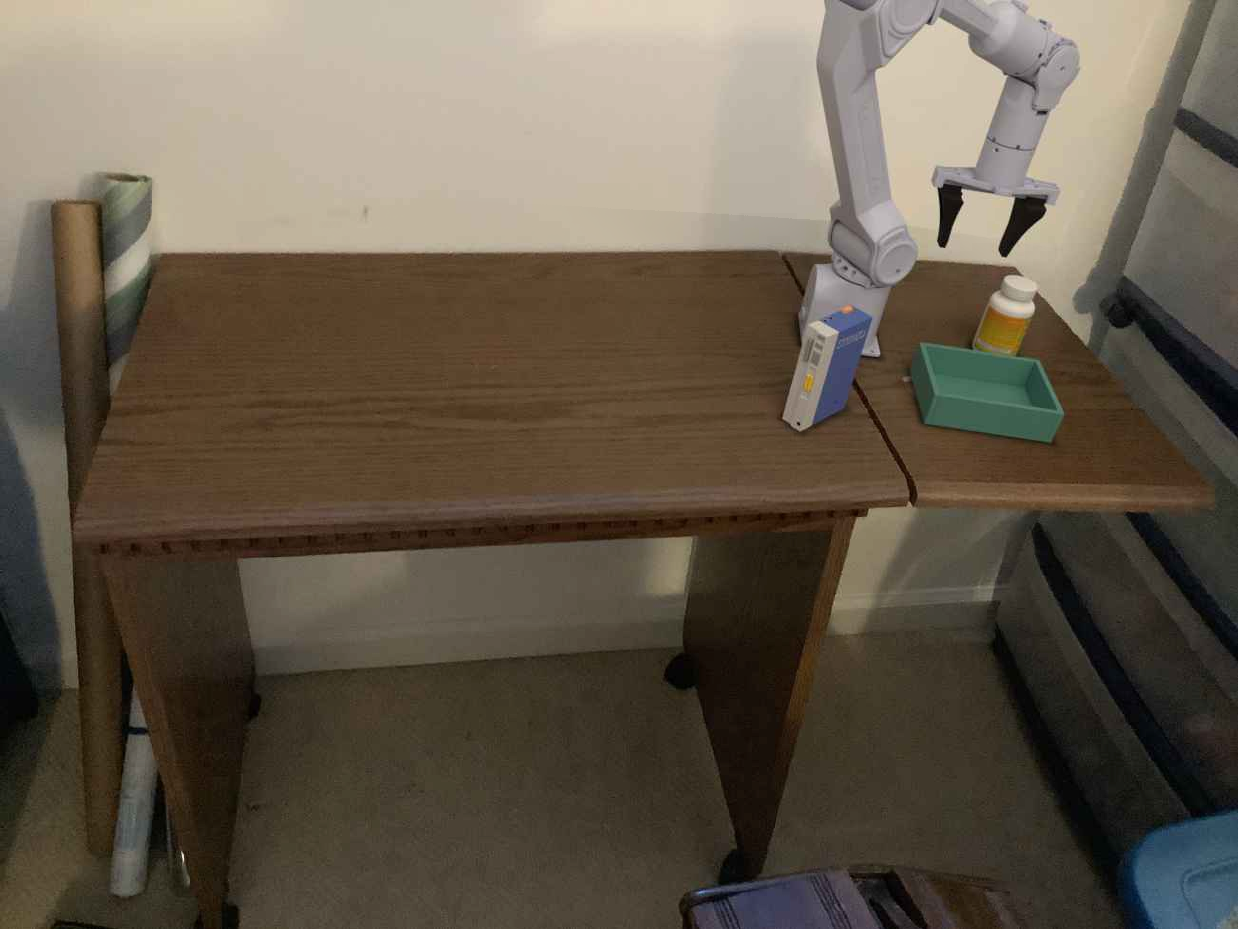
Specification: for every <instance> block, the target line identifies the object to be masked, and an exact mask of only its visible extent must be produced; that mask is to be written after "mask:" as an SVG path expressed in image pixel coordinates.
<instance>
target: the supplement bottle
mask: <svg viewBox="0 0 1238 929" xmlns="http://www.w3.org/2000/svg"><path fill="white" fill-rule="evenodd" d="M1038 288H1039V287H1038V284H1037V283H1036V282H1035V281H1033V280H1032V279H1030V278H1027V277H1024V276H1021V275H1018V274H1017V275H1016V274H1008V275H1006V276H1004V278H1003V280H1002V282H1001V284H1000V289H999V290H997V291H995V292H993V293H992V294H991V296H990V297H989V299H988V302H987V304H986V307H985V309H984V311H983V315H982V317H981V319H980V322H979V324H978V326H977V330H976V332H975V334H974V338H973V340H972V344H971V347H972V350H976V351H983V352H989V353H996V354H1002V355H1009V356H1016V357H1017V354H1018V351H1019V349H1020V347H1021V344H1022V342H1023V340H1024V338H1025V335H1026V333H1027V331H1028V328H1029V326H1030V323H1031V321H1032V319H1033V316H1034V314H1035V311H1036V305H1035V303H1034V301H1033V300H1034V298H1035V297H1036V294H1037V291H1038Z"/></svg>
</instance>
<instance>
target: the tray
mask: <svg viewBox="0 0 1238 929" xmlns="http://www.w3.org/2000/svg"><path fill="white" fill-rule="evenodd" d="M908 370H909V373H910V377H911V380H912V384H913V387H914V388H913V389H914V393H915V396H916V400H917V403H918V406H919V410H920V415H921V418H922V421H923V424H924V425H931V426H938V427H944V428H950V429H957V430H963V431H970V432H976V433H982V434H983V433H984V434H991V435H996V436H997V435H998V436H1004V437H1010V438H1017V439H1023V440H1030V441H1036V442H1042V443H1049V444H1051V443H1052V442H1053V439H1054V437H1055V435H1056V433H1057V431H1058V429H1059V427H1060V424H1061V423H1062V420H1063V419H1064V416H1065V412H1064V410H1063V408H1062V405H1061V403H1060V401H1059V399H1058V397H1057V395H1056V393H1055V390H1054V388H1053V386H1052V384H1051V382H1050V380H1049V378H1048V375H1047V374H1046V372H1045V369H1044V367H1043V365H1042V363H1041V361H1040V359H1034V358H1029V357H1021V356H1017V355H1016V356H1009V355H1002V354H996V353H989V352H983V351H976V350H974V349H970V348H962V347H957V346H956V347H955V346H949V345H944V344H936V343H929V342H923V341H919V342H918V344H917V347H916V350H915V353H914V356H913V358H912V361H911V364H910V367H909V369H908Z"/></svg>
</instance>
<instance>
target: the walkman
mask: <svg viewBox="0 0 1238 929" xmlns="http://www.w3.org/2000/svg"><path fill="white" fill-rule="evenodd" d="M872 318H873V317H872V316H870V315H868V314H866V313H865V312H863V311H861V310H859V309H857V308H855V307H854V306H847V307H845V308H842V310H841V311H839V312H836V313H834V314H832V315H829V316H827V317H825V318H822V319H820V320H818V321H816V322H813V323H811V324H808V326H807V329H806V333H805V337H804V340H803V344H802V343H801V348H800V352H799V355H798V359H797V361H796V366H795V369H794V372H793V373H794V374H793V376H792V377H793V378H792V381H791V385H790V389H789V393H788V395H787V399H786V403H785V406H784V411H783V415H782V418H781V419H782V420H784V421H785V422H786V423H788V424H790V426H791V427H792V428H793V429H795V430H797V431H798V432H802V431H804V430H807V429H808V428H810V427H812V426H814V425H815V424H817V423H819V422H821V421H823V420H825V419H827V418H829V417H830V416H833V415H834V414H836V413H838V412H841V411H842V410H844V409H845V406H846V403H847V402H848V398H849V394H850V391H851V389H852V385H853V382H854V378H855V375H856V372H857V369H858V365H859V363H860V359H861V356H862V355H861V353H862V350H863V347H864V344H865V340H866V337H867V334H868V331H869V328H870V325H871V321H872Z"/></svg>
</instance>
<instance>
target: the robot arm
mask: <svg viewBox="0 0 1238 929" xmlns="http://www.w3.org/2000/svg"><path fill="white" fill-rule="evenodd" d="M823 3H824V10H825V12H824V17H823V21H822V27H821V33H820V37H819V43H818V47H817V53H816V59H815V61H816V65H815V66H816V72H817V79H818V85H819V89H820V95H821V101H822V106H823V112H824V117H825V123H826V128H827V133H828V138H829V146H830V151H831V156H832V157H831V158H832V162H833V168H834V173H835V178H836V184H837V188H838V189H837V190H838V196H839V198H838V199H837V200H836V201H835V202H834V203H833V204H832V205H831V206H830V207H829V215H830V223H829V227H828V230H827V243H828V245H829V247H830V249H832V253H831V257H830V260H831V261H832V262H831V263H814V264H813V266H812V268H811V270H810V274H809V277H808V281H807V284H806V288H805V292H804V296H803V299H802V304H801V306H800V310H799V312H798V315H797V317H798V324H799V325H798V326H799V332H800V333H799V334H800V343H801V345H802V344H803V340H804V337H805V333H806V329H807V326H808V324H811V323H813V322H816V321H818V320H820V319H822V318H825V317H827V316H829V315H832V314H834V313H836V312H839V311H841V310H842V308H845V307H847V306H854V307H855V308H857V309H859V310H861V311H863V312H865V313H866V314H868V315H870V316H872V317H873V318H872V321H871V325H870V328H869V331H868V334H867V337H866V340H865V344H864V347H863V350H862V353H861V356H866V357H872V358H879V357H880V356H881V350H880V346H879V342H878V341H879V340H878V336H877V332H878V329H879V327H880V323H881V319H882V317H883V313H884V310H885V307H886V304H887V302H888V299H889V295H890V292H891V289H892V286H896V285H897V284H898V283H899V282H901V281H902V280H903V279H904V278H905V277H906V276H907V275H908V274H910V272H911V270H912V269H913V267H914V266H915V263H916V261H917V258H918V252H919V249H918V244H917V242H916V240H915V239H914V238H913V237H912V236H911V235H910V232H909V229H908V223H907V221H906V220H905V218H904V216H903V214H902V212H900V210H899V209H898V207H897V205H896V204H895V202H894V200H893V198H892V192H891V184H890V176H889V169H888V163H887V162H888V160H887V155H886V154H887V152H886V146H885V140H884V132H883V124H882V117H881V108H880V102H879V94H878V87H877V80H876V72H877V70H878V69H881V68H885V67H886V66H887V65H888V64H889V63H890V62H891V61H892V60H893V59H894V58H895V57H896V56H897V55H898V54H899V53H900V51H901V50H903V49H904V48H905V47H906V45H907V44H908V43H909V42H911V40H912V39H913V38H914V37H915V36H917V34H918V33H919V32H921V30H922V29H923V28H924V27H925V25H927V26H934V25H935V23H936V22H937V21H938V19H941V20H943V21H945V22H946V23H948V24H950V25H952V26H953V27H955V28H956V29H958V30H961V31H962V32H964V33H966V34H967V37H968V38H967V42H968V47H969V49H970V51H971V52H972V53H973V54H974V55H975V56H977V57H978V58H981V59H982V60H983V61H986V62H987V63H989V64H990V65H992V66H993V67H995V68H997V69H999V70H1000V71H1001V73H1002V75H1003V76H1006V78H1005V81H1004V84H1003V87H1002V90H1001V93H1000V96H999V99H998V102H997V104H996V107H995V110H994V113H993V115H992V118H991V121H990V124H989V127H988V130H987V133H986V135H985V139H984V141H983V145H982V147H981V150H980V152H979V156H978V159H977V161H976V164H975V166H945V165H935V167H934V170H933V173H932V176H931V179H930V181H931V184H932V186H933V187H934V188H937V195H938V205H939V206H938V207H939V222H938V223H939V224H938V232H937V239H936V242H937V244H938V247H939V248H941V249H946V248H947V245H948V243H949V240H950V237H951V235H952V234H951V233H952V232H953V231H952V230H953V228H954V224H955V223H956V222H955V221H956V220H957V218H958V215H959V213H960V211H961V209H962V207H963V206H964V204H965V201H964V200H963V198H962V197H963V194H964V193H963V190H966V191H971V192H979V193H984V194H991V195H996V196H1001V197H1007V198H1011V197H1012V198H1014V200H1013V204H1012V208H1011V211H1010V215H1009V219H1008V221H1007V224H1006V227H1005V230H1004V231H1003V234H1002V237H1001V239H1000V241H999V245H998V248H997V251H998V253H999V255H1000V257H1001V258H1008V256H1009V255H1010V254H1011V252H1012V250H1013V249H1014V247H1015V246H1016V245H1017V243H1018V242H1020V240H1021V239H1022V238H1023V236H1024V235H1025V234H1026V233H1027V232H1028V231H1029V230H1030V229H1031V228H1032V227H1033V226H1034V225H1035V224H1037V223H1038V222H1039V221H1040V220H1042V219H1043V218H1044V217H1045V215H1046V213H1047V210H1048V209H1047V207H1046V205H1050V206H1055V205H1056V203H1057V201H1058V198H1059V196H1060V193H1061V188H1060V187H1059V186H1058V184H1057V183H1055V182H1048V181H1044V180H1040V179H1036V178H1033V177H1029V176H1027V173H1028V171H1029V168H1030V166H1031V163H1032V160H1033V157H1034V155H1035V153H1036V150H1037V148H1038V146H1039V142H1040V140H1041V137H1042V134H1043V132H1044V130H1045V127H1046V124H1047V121H1048V119H1049V116H1050V113H1051V112H1052V110H1054V109H1055V108H1056V106H1057V105H1059V103H1060V101H1061V98H1062V97H1063V94H1064V93H1065V91H1066V90H1067V89H1068V88H1069V87H1070V86H1071V85H1072V84H1073V82H1074V81H1075V80H1076V78H1077V76H1078V75H1079V73H1080V71H1081V68H1082V67H1081V66H1080V62H1081V57H1080V51H1079V50H1078V45H1077V43H1076V42H1075V41H1074V40H1072V39H1070V38H1067V37H1066V36H1063V35H1060V34H1059V33H1056V32H1053V31H1052V27H1053V24H1052V23H1051V22H1049V21H1048V20H1046V19H1044V18H1039V19H1036V18H1035V17H1033V16H1032V15H1030V14H1029V13H1028V12H1027V11H1028V10H1029V5H1028V4H1026V3H1025V2H1023V1H1021V0H1010V1H1009V0H996V1H993V2H991V3H987V2H986V1H985V0H823Z"/></svg>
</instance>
